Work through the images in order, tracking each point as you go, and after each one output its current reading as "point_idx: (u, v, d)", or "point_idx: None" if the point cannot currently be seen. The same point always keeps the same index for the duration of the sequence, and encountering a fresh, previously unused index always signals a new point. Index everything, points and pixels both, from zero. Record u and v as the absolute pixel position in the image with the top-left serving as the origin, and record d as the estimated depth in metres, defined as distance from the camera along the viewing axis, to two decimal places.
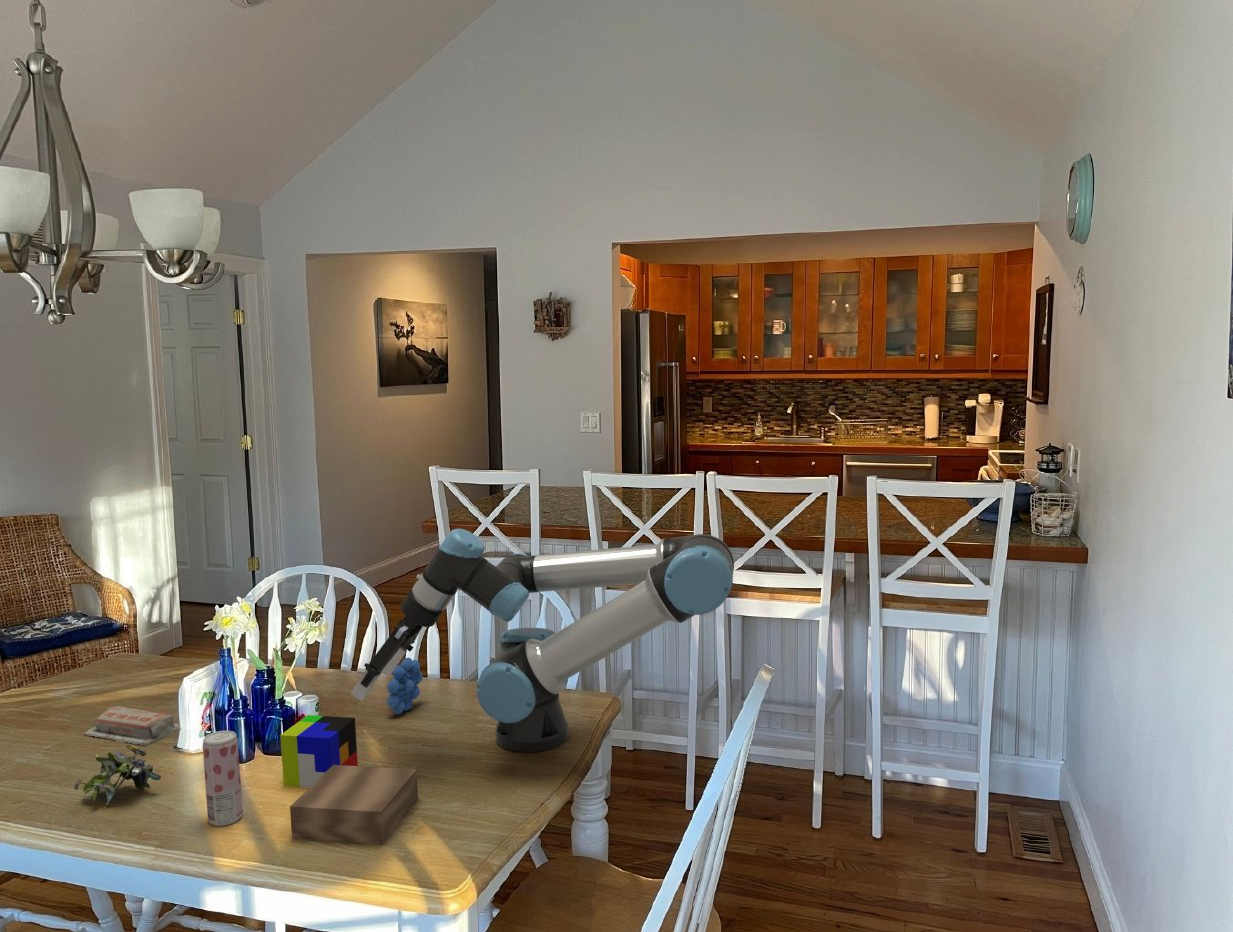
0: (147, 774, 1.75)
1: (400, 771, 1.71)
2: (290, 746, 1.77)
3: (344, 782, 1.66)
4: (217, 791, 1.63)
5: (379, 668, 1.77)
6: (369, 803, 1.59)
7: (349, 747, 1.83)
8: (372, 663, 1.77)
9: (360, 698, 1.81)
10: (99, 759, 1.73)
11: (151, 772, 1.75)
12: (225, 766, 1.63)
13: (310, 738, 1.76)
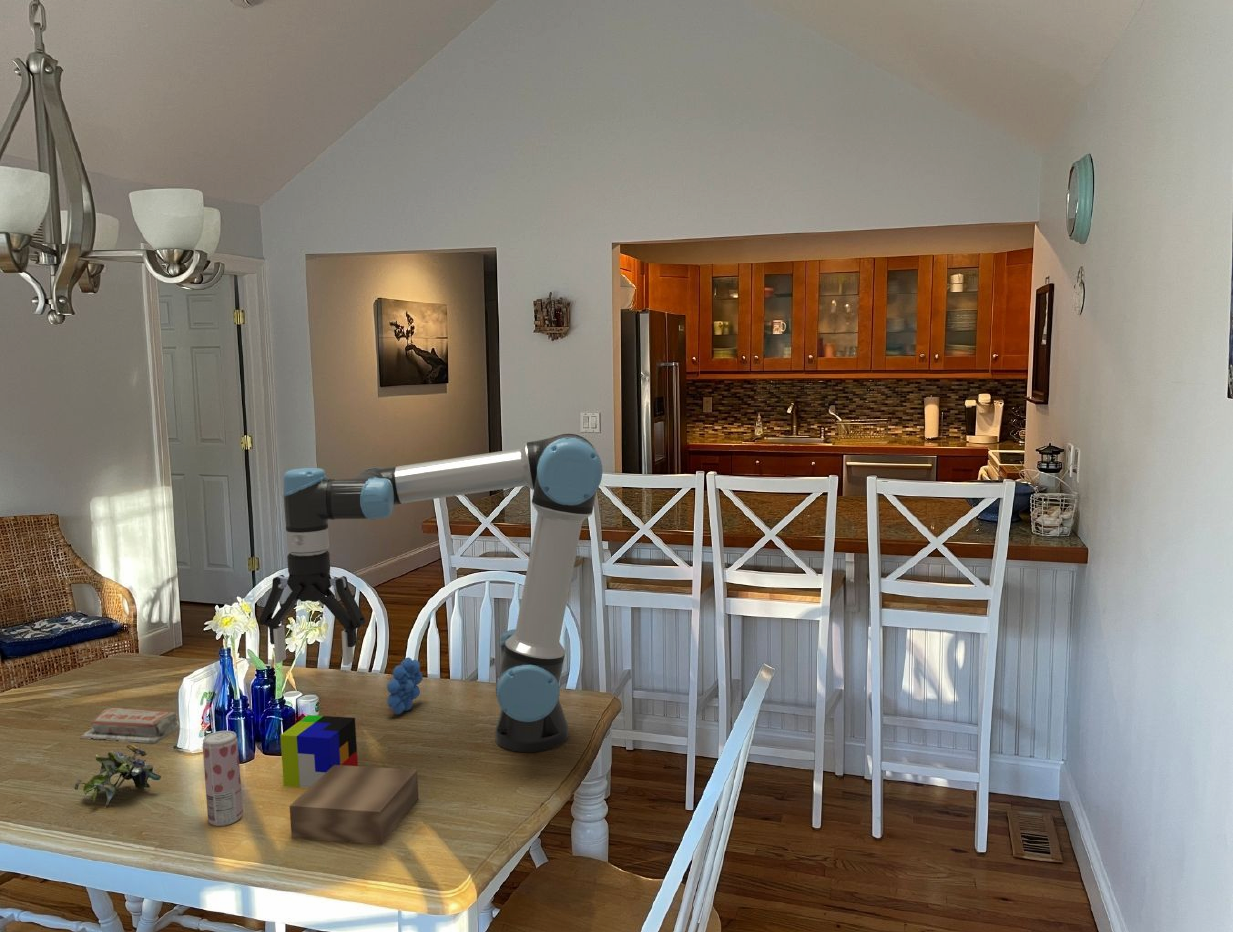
0: (147, 774, 1.75)
1: (400, 771, 1.71)
2: (289, 746, 1.77)
3: (344, 782, 1.67)
4: (217, 791, 1.63)
5: (362, 615, 1.78)
6: (368, 803, 1.59)
7: (349, 747, 1.83)
8: (358, 618, 1.76)
9: (352, 660, 1.79)
10: (99, 759, 1.73)
11: (151, 772, 1.75)
12: (225, 766, 1.63)
13: (310, 738, 1.76)
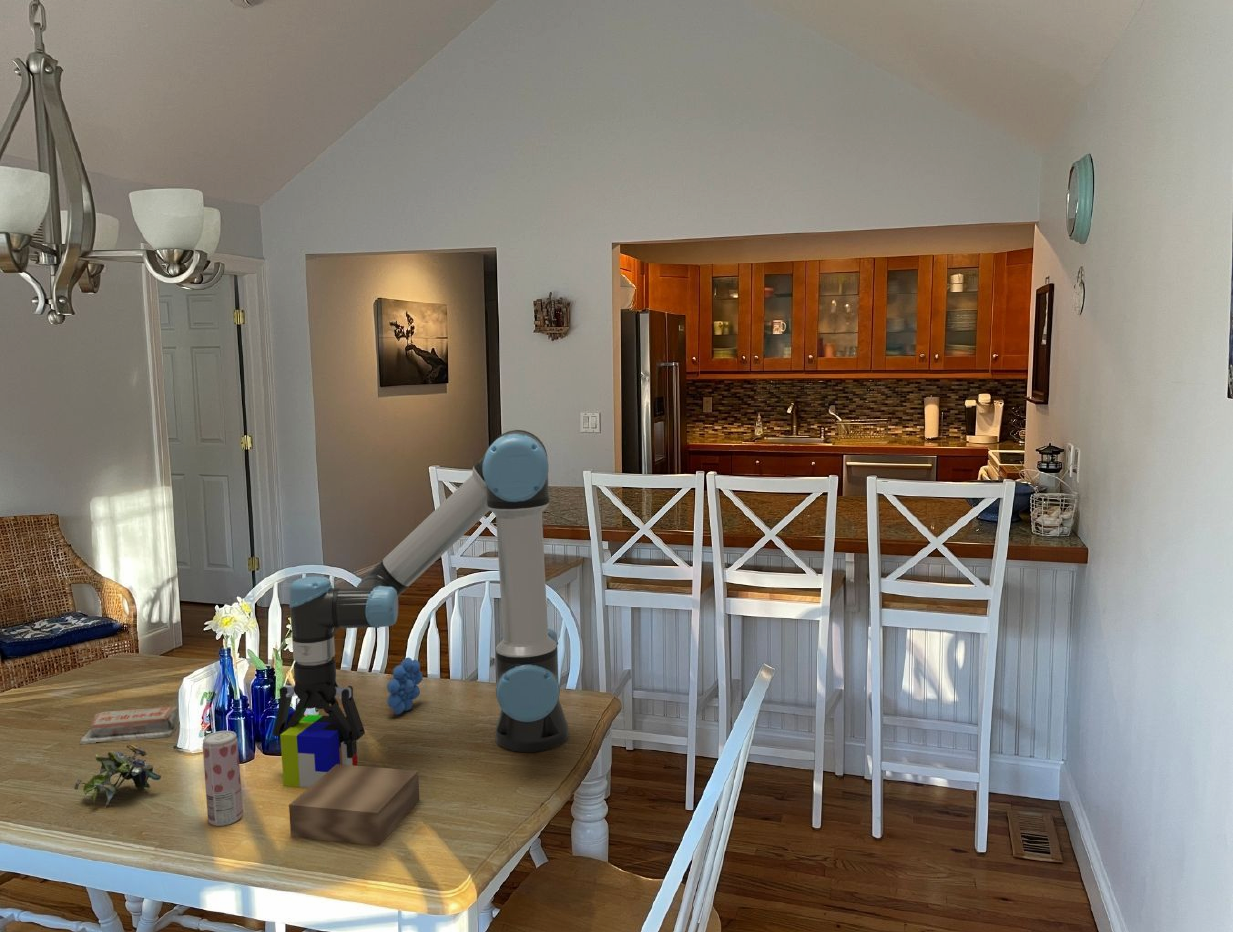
0: (147, 774, 1.75)
1: (401, 772, 1.70)
2: (289, 746, 1.77)
3: (345, 782, 1.67)
4: (217, 791, 1.63)
5: (362, 726, 1.81)
6: (367, 804, 1.58)
7: None
8: (359, 730, 1.79)
9: None
10: (99, 759, 1.73)
11: (151, 772, 1.75)
12: (225, 766, 1.63)
13: (310, 738, 1.76)
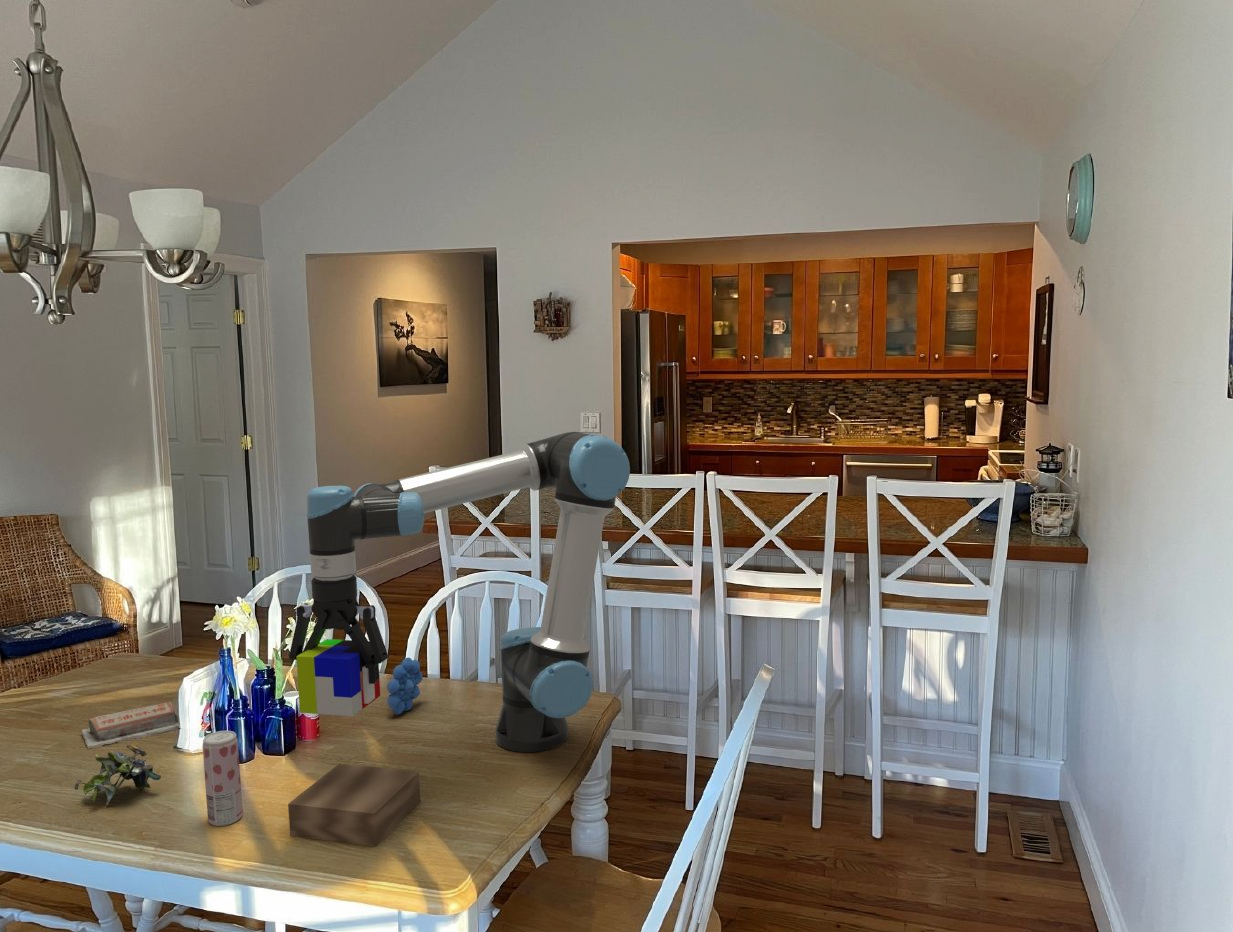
0: (147, 774, 1.75)
1: (402, 772, 1.70)
2: (306, 669, 1.62)
3: (345, 782, 1.67)
4: (217, 791, 1.63)
5: (385, 650, 1.66)
6: (364, 804, 1.58)
7: None
8: (381, 653, 1.64)
9: (373, 697, 1.67)
10: (99, 759, 1.73)
11: (151, 772, 1.75)
12: (225, 766, 1.63)
13: (329, 660, 1.61)
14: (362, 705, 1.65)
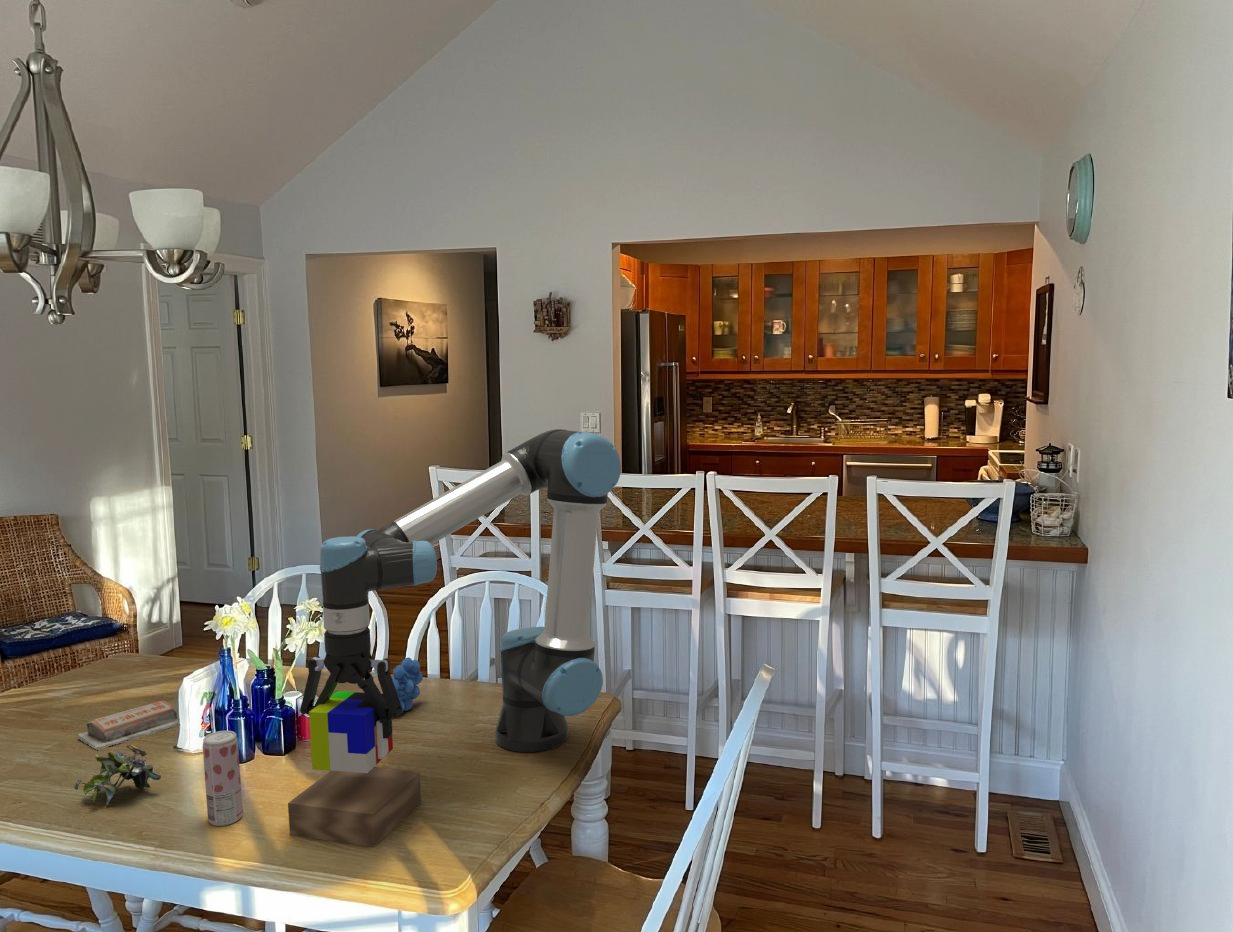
0: (147, 774, 1.75)
1: (403, 773, 1.70)
2: (319, 725, 1.59)
3: (346, 781, 1.67)
4: (217, 791, 1.63)
5: (399, 704, 1.63)
6: (363, 804, 1.58)
7: None
8: (396, 707, 1.61)
9: (387, 751, 1.64)
10: (99, 759, 1.73)
11: (151, 772, 1.75)
12: (225, 766, 1.63)
13: (343, 715, 1.58)
14: (376, 760, 1.61)
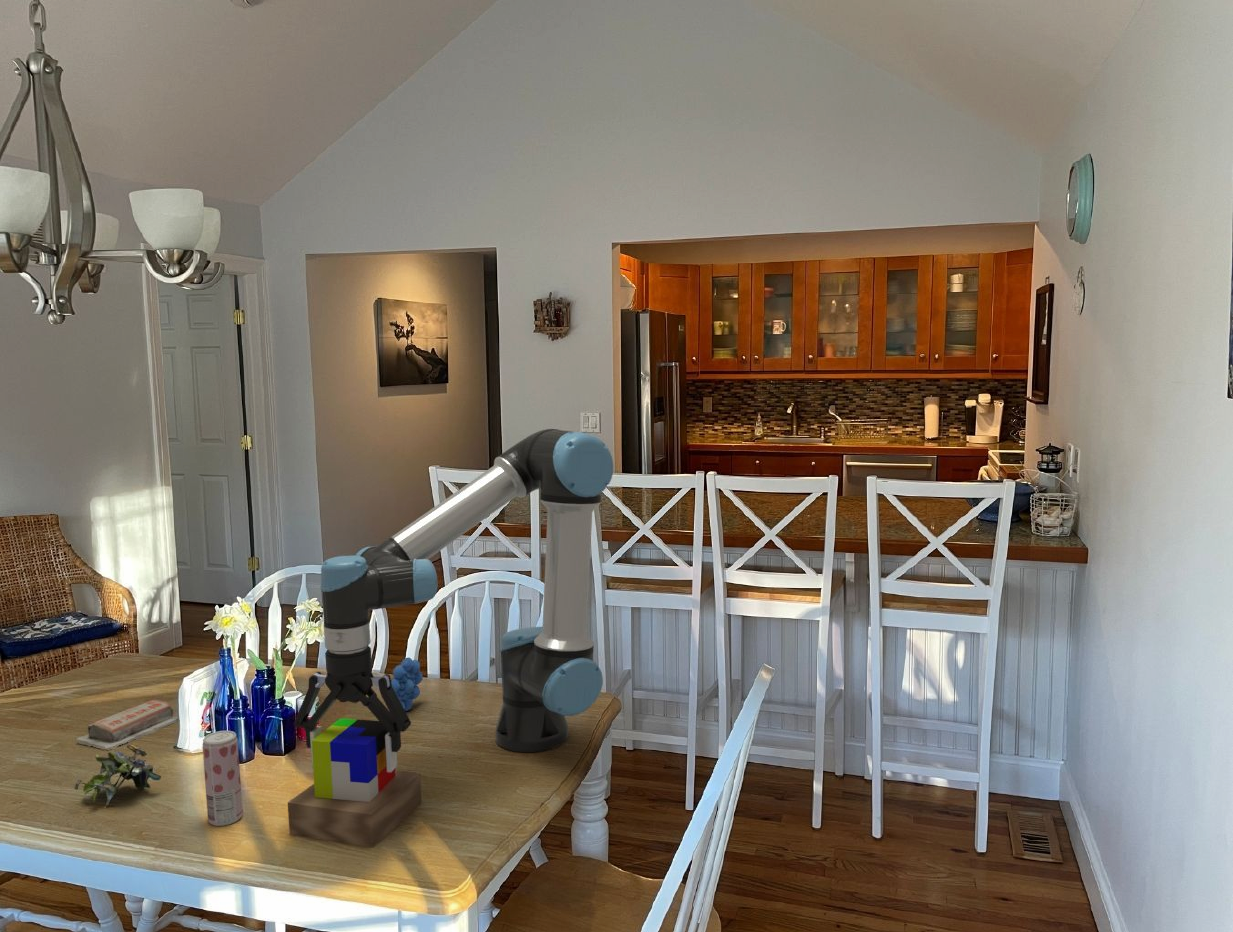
0: (147, 774, 1.75)
1: (403, 773, 1.70)
2: (322, 753, 1.60)
3: None
4: (217, 791, 1.63)
5: (407, 717, 1.63)
6: (362, 805, 1.58)
7: None
8: (404, 720, 1.61)
9: (395, 764, 1.64)
10: (99, 759, 1.73)
11: (151, 772, 1.75)
12: (225, 766, 1.63)
13: (345, 744, 1.59)
14: (378, 788, 1.62)
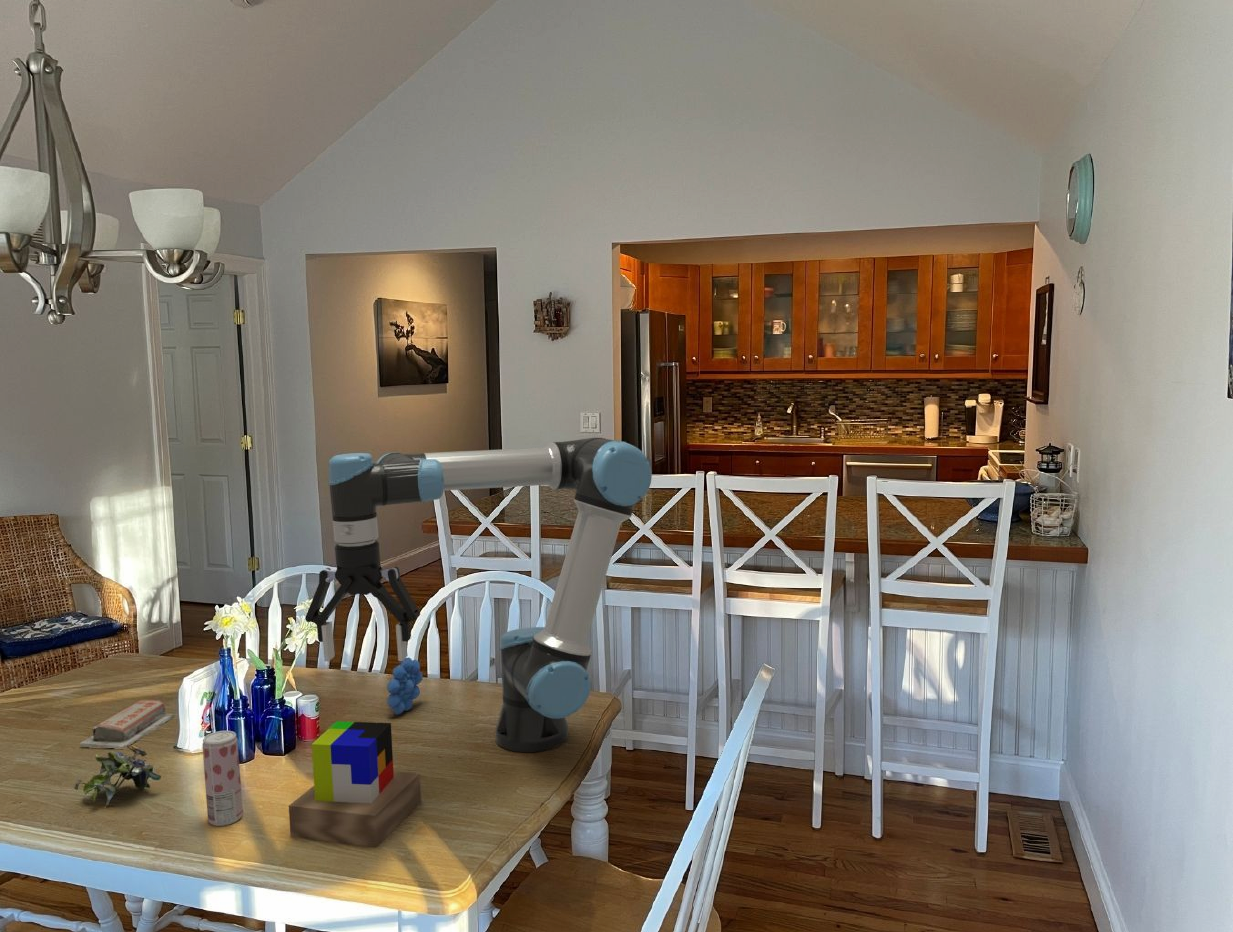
0: (147, 774, 1.75)
1: (403, 774, 1.70)
2: (322, 756, 1.59)
3: None
4: (216, 791, 1.63)
5: (416, 607, 1.68)
6: (365, 806, 1.58)
7: (386, 755, 1.66)
8: (413, 610, 1.67)
9: (406, 655, 1.69)
10: (99, 759, 1.73)
11: (151, 772, 1.75)
12: (225, 766, 1.63)
13: (346, 747, 1.58)
14: (379, 790, 1.62)
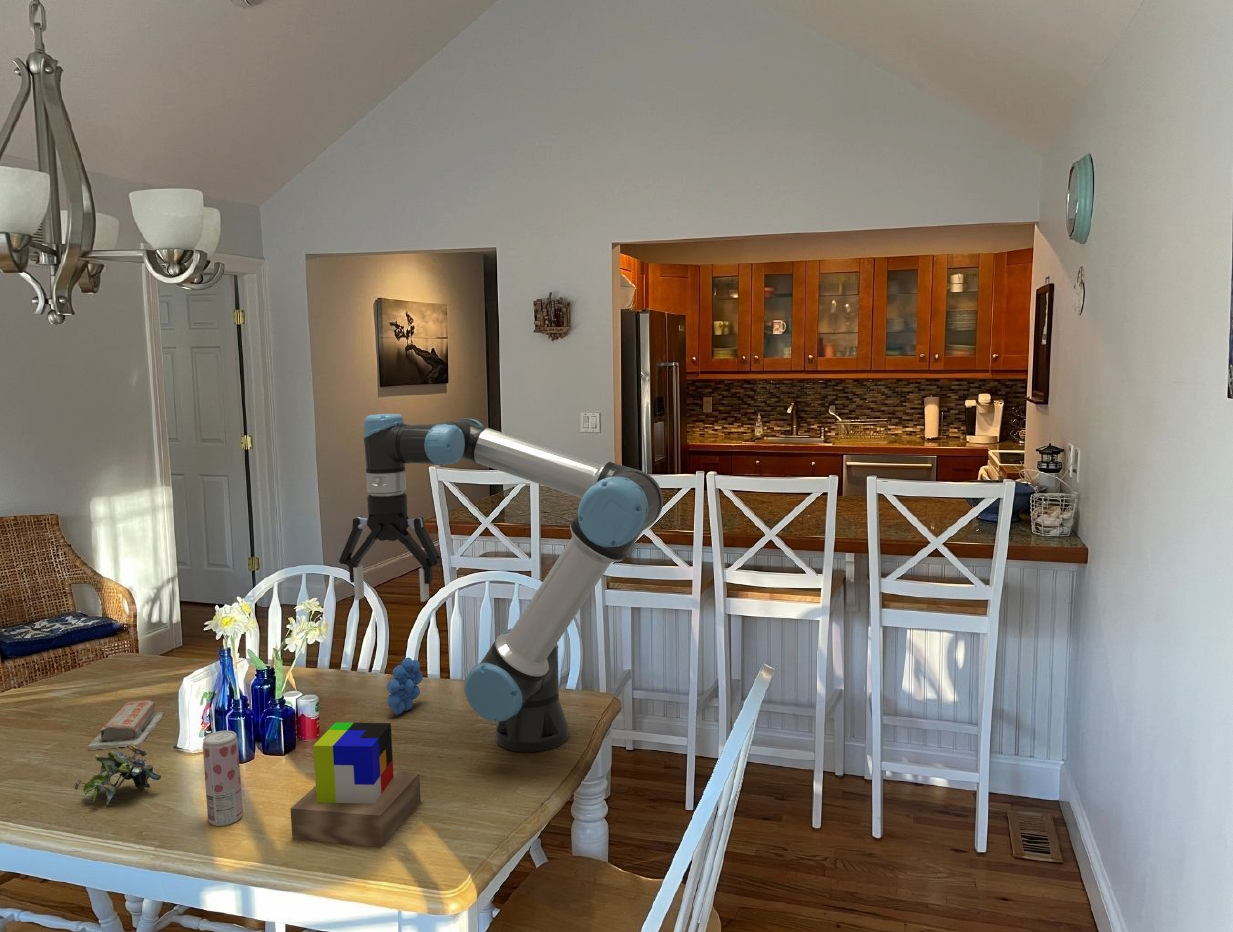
0: (147, 774, 1.75)
1: (402, 774, 1.70)
2: (324, 758, 1.59)
3: None
4: (217, 791, 1.63)
5: (438, 554, 1.87)
6: (369, 806, 1.58)
7: (387, 755, 1.66)
8: (435, 556, 1.85)
9: (428, 597, 1.88)
10: (99, 759, 1.73)
11: (151, 772, 1.75)
12: (225, 766, 1.63)
13: (349, 747, 1.58)
14: (381, 790, 1.62)
